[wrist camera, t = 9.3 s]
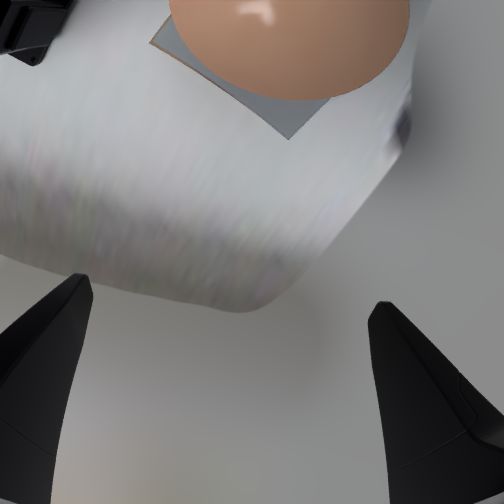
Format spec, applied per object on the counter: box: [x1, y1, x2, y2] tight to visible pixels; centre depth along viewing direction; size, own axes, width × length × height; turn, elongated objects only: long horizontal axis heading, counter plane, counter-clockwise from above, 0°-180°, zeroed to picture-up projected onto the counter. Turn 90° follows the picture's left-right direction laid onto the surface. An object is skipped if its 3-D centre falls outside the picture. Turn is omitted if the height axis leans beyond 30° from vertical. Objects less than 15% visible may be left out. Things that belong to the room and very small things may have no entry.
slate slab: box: [153, 17, 330, 140], centre depth 10 cm, size 6×6×4 cm
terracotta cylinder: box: [169, 0, 409, 101], centre depth 6 cm, size 5×5×5 cm
